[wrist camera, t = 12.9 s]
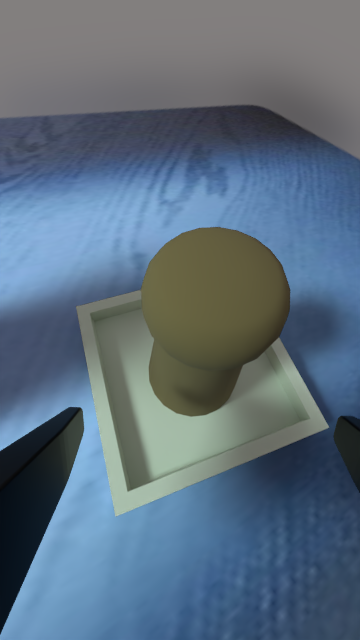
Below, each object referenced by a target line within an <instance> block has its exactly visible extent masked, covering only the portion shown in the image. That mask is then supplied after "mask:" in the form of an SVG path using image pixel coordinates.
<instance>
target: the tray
mask: <svg viewBox="0 0 360 640" xmlns="http://www.w3.org/2000/svg"><path fill="white" fill-rule="evenodd" d="M76 309H77V314H78V320H79V325H80V330H81V336H82V341H83V346H84V351H85V357H86V362H87V367H88V373H89V378H90V383H91V389H92V394H93V399H94V405H95V410H96V415H97V420H98V426H99V431H100V436H101V442H102V447H103V452H104V458H105V463H106V468H107V474H108V479H109V484H110V489H111V495H112V500H113V505H114V511H115V516H118V515H121V514H123V513H125V512H128V511H130V510H133V509H135V508H137V507H140V506H142V505H145V504H147V503H149V502H152V501H154V500H157V499H159V498H161V497H164V496H166V495H169V494H171V493H173V492H176V491H178V490H181V489H183V488H185V487H188V486H190V485H193V484H195V483H197V482H200V481H202V480H205V479H207V478H209V477H212V476H214V475H217V474H219V473H221V472H224V471H226V470H229V469H231V468H233V467H236V466H238V465H241V464H243V463H245V462H248V461H250V460H253V459H255V458H257V457H260V456H262V455H265V454H267V453H269V452H272V451H274V450H277V449H279V448H281V447H284V446H286V445H289V444H291V443H293V442H296V441H298V440H301V439H303V438H305V437H308V436H310V435H313V434H315V433H317V432H320V431H322V430H325V429H327V428H329V426H328V424H327V423H326V421H325V419H324V417H323V415H322V414H321V412H320V410H319V408H318V406H317V405H316V403H315V401H314V399H313V397H312V396H311V394H310V392H309V390H308V388H307V387H306V385H305V383H304V381H303V379H302V378H301V376H300V374H299V372H298V370H297V369H296V367H295V365H294V363H293V362H292V360H291V358H290V356H289V354H288V353H287V351H286V349H285V347H284V345H283V344H282V342H281V340H280V338H278V339H277V340H276V341H275V342H274V343H273V344H272V345H271V346H270V347H269V348H268V349H267V350H265V351H264V352H263V353H262V354H261V355H260V356H259V357H258V358H257V359H255V360H253V361H251V362H249V363H246V364H244V365H243V367H242V369H241V372H240V375H239V377H238V380H237V383H236V385H235V388H234V390H233V392H232V394H231V396H230V398H229V399H228V400H227V401H226V402H225V403H224V404H223V405H222V406H221V407H220V408H219V409H218V410H216V411H214V412H212V413H209V414H207V415H203V416H193V417H190V416H186V415H182V414H177V413H175V412H174V411H172V410H170V409H169V408H167V407H165V406H164V405H163V404H162V403H161V401H160V400H159V399H158V398H157V397H156V395H155V394H154V392H153V389H152V387H151V384H150V382H149V362H150V357H151V352H152V347H153V342H154V338H153V337H152V336H151V333H150V331H149V329H148V326H147V324H146V322H145V319H144V317H143V312H142V302H141V290H138V291H134V292H130V293H126V294H122V295H119V296H115V297H111V298H107V299H103V300H99V301H95V302H92V303H88V304H84V305H80V306H76Z"/></svg>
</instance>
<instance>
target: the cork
mask: <svg viewBox="0 0 360 640" xmlns="http://www.w3.org/2000/svg"><path fill="white" fill-rule="evenodd" d="M141 302H142V312H143V317H144V319H145V322H146V324H147V326H148V329H149V331H150V333H151V336H152V337H153V338H154V342H153V347H152V352H151V357H150V362H149V382H150V384H151V387H152V389H153V392H154V394H155V395H156V397H157V398H158V399H159V400H160V401H161V403H162V404H163V405H164V406H165V407H167V408H169V409H170V410H172V411H174V412H175V413H177V414H182V415H186V416H190V417H193V416H203V415H207V414H209V413H212V412H214V411H216V410H218V409H219V408H220V407H221V406H222V405H223V404H224V403H225V402H226V401H227V400H228V399H229V398H230V396H231V394H232V392H233V390H234V388H235V385H236V383H237V380H238V377H239V375H240V372H241V369H242V367H243V365H244V364H246V363H249V362H251V361H253V360H255V359H257V358H258V357H259V356H260V355H261V354H262V353H263V352H264V351H265V350H267V349H268V348H269V347H270V346H271V345H272V344H273V343H274V342H275V341H276V340H277V339H278V338H279V336H280V333H281V331H282V329H283V326H284V324H285V322H286V320H287V317H288V314H289V310H290V288H289V284H288V281H287V278H286V275H285V273H284V270H283V267H282V264H281V263H280V262H279V260H278V259H277V258H276V256H275V255H274V254H273V253H272V251H271V250H270V249H269V248H267V247H266V246H265V245H263V244H262V243H261V242H259V241H258V240H257V239H255V238H253V237H251V236H249V235H246V234H244V233H242V232H239V231H237V230H231V229H226V228H220V227H210V228H198V229H194V230H191V231H188V232H184V233H181V234H180V235H178V236H177V237H175V238H174V239H172V240H170V241H169V242H167V243H166V244H165V245H164V246H163V247H162V248H161V249H160V250H159V252H158V253H157V254H156V255H155V256H154V258H153V259H152V260H151V261H150V263H149V265H148V268H147V271H146V274H145V277H144V280H143V283H142V287H141Z"/></svg>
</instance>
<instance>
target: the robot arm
mask: <svg viewBox="0 0 360 640" xmlns="http://www.w3.org/2000/svg"><path fill="white" fill-rule="evenodd" d="M83 432H84V421H83V411H82V409H81V408H80V407H69V408H67V409H66V410H64V411H62V412H61V413H59V414H58V415H56V416H55V417H53V418H51V419H50V420H48V421H47V422H45V423H44V424H42V425H40V426H39V427H37V428H36V429H34V430H33V431H31V432H29V433H28V434H26V435H25V436H23V437H22V438H20V439H18V440H17V441H15V442H14V443H12V444H11V445H9V446H7V447H6V448H4V449H3V450H1V451H0V634H1V632H2V629H3V627H4V625H5V622H6V620H7V618H8V616H9V613H10V611H11V609H12V607H13V604H14V602H15V600H16V597H17V595H18V593H19V591H20V588H21V586H22V584H23V582H24V579H25V577H26V575H27V573H28V570H29V568H30V566H31V563H32V561H33V559H34V557H35V554H36V552H37V550H38V548H39V545H40V543H41V541H42V538H43V536H44V534H45V532H46V529H47V527H48V525H49V523H50V520H51V518H52V516H53V513H54V511H55V509H56V507H57V504H58V502H59V500H60V498H61V495H62V493H63V491H64V489H65V486H66V484H67V481H68V479H69V476H70V473H71V470H72V467H73V464H74V461H75V458H76V455H77V452H78V449H79V445H80V442H81V439H82V436H83ZM334 441H335V444H336V446H337V448H338V450H339V452H340V454H341V456H342V458H343V460H344V462H345V465H346V467H347V469H348V471H349V473H350V475H351V477H352V479H353V481H354V483H355V485H356V487H357V489H358V491H359V492H360V420H359V419H357V418H355V417H353V416H340V417H339V418H338V421H337V424H336V428H335V432H334Z"/></svg>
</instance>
